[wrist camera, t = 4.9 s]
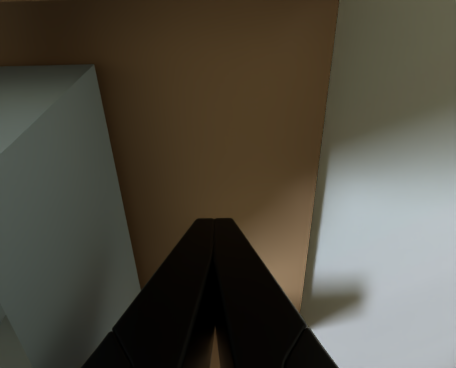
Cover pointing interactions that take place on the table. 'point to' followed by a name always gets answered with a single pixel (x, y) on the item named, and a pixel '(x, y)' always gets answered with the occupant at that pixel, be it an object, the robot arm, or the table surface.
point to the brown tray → (199, 112)
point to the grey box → (58, 219)
